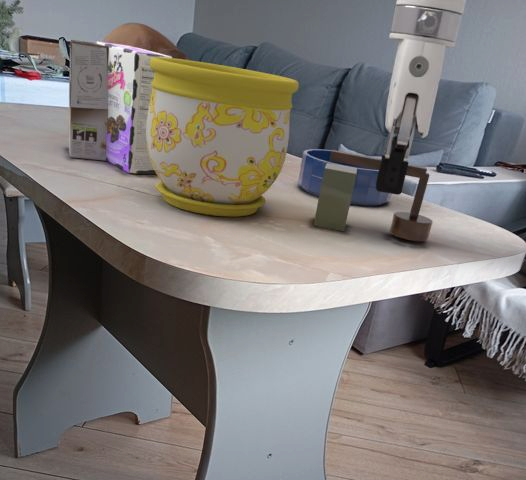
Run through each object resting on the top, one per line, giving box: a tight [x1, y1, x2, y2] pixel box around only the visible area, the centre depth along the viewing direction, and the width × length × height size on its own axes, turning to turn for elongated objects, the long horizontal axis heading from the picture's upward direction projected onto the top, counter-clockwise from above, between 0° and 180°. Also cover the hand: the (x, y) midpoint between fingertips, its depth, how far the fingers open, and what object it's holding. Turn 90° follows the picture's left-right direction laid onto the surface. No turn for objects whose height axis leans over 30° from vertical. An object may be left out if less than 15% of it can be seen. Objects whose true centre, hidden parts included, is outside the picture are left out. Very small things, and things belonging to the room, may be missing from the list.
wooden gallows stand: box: [330, 149, 434, 242], centre depth 79 cm, size 14×5×9 cm, turn 81°
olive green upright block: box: [313, 163, 357, 232], centre depth 80 cm, size 4×4×7 cm
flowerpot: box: [146, 57, 300, 218], centre depth 78 cm, size 18×18×16 cm
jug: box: [101, 22, 190, 60], centre depth 112 cm, size 20×20×30 cm
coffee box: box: [68, 39, 109, 162], centre depth 95 cm, size 9×6×16 cm
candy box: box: [96, 41, 172, 175], centre depth 92 cm, size 14×6×16 cm, turn 36°
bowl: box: [297, 148, 393, 207], centre depth 100 cm, size 15×15×6 cm
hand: (388, 189), depth 78 cm, fingers closed on wooden gallows stand, 1 cm apart
